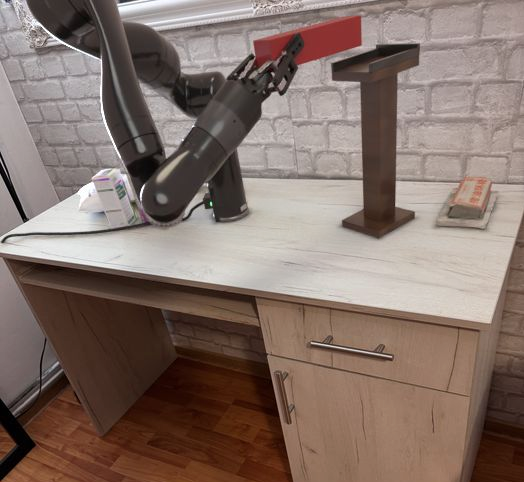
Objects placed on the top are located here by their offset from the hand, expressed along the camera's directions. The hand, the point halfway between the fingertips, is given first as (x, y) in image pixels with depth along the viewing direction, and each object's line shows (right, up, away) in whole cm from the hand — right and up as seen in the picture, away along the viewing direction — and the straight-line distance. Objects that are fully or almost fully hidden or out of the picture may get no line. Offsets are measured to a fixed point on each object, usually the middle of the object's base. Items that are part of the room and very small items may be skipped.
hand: (290, 39), depth 76 cm
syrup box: (-43, -15, +57) cm, 73 cm away
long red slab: (+4, -1, +4) cm, 6 cm away
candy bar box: (-33, -15, +54) cm, 65 cm away
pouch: (-50, -6, +70) cm, 86 cm away
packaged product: (+42, -19, +30) cm, 55 cm away
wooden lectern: (+22, -21, +33) cm, 45 cm away
